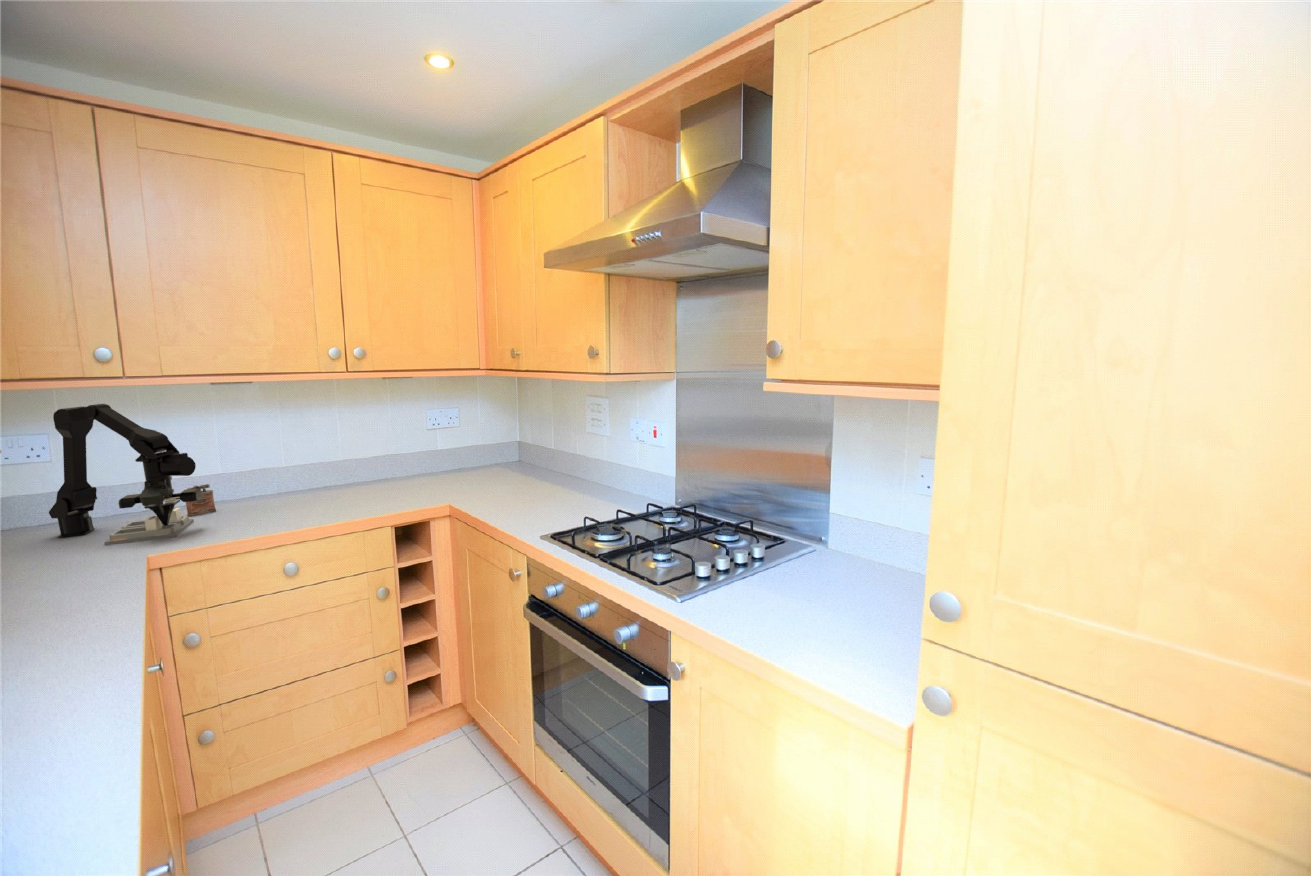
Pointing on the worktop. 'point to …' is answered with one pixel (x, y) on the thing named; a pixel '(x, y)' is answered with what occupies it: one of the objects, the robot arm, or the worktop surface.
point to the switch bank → (138, 531)
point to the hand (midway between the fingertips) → (166, 525)
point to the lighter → (201, 502)
